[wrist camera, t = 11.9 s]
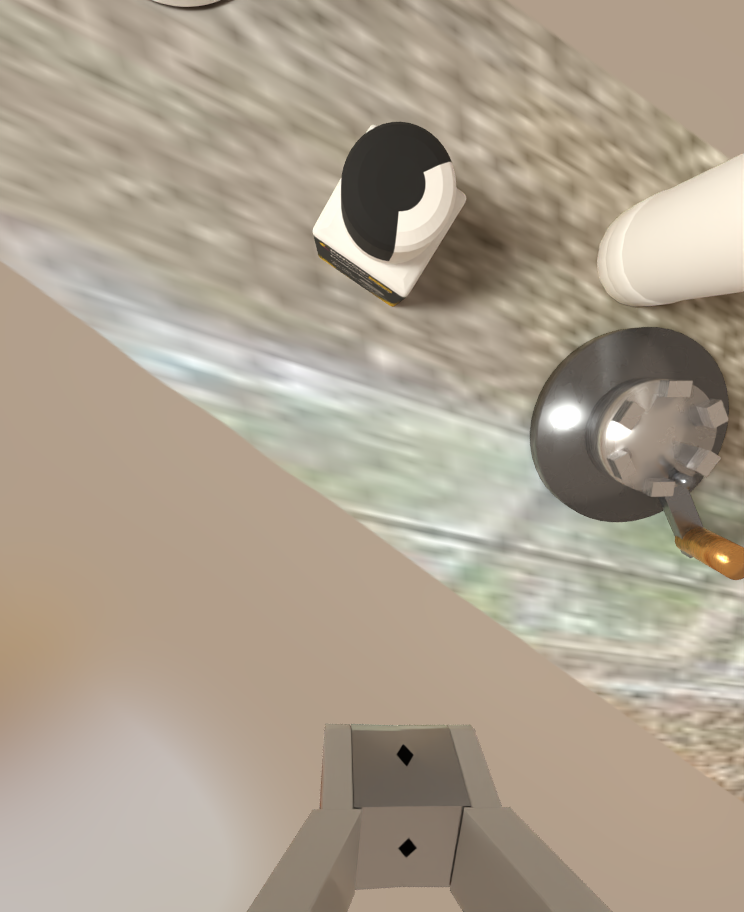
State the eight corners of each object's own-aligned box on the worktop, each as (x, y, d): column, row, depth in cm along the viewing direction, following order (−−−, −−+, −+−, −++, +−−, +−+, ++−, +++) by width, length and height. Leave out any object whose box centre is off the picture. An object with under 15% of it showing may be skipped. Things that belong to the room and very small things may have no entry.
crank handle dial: (568, 413, 36) (614, 426, 30) (665, 356, 35) (733, 358, 29) (639, 566, 40) (692, 605, 34) (727, 518, 39) (797, 549, 33)
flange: (548, 319, 35) (559, 317, 34) (737, 337, 37) (755, 336, 35) (515, 511, 39) (523, 518, 38) (686, 520, 41) (700, 527, 39)
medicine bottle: (316, 256, 33) (303, 206, 21) (365, 169, 32) (379, 65, 20) (393, 308, 34) (420, 288, 23) (443, 227, 33) (498, 161, 21)
